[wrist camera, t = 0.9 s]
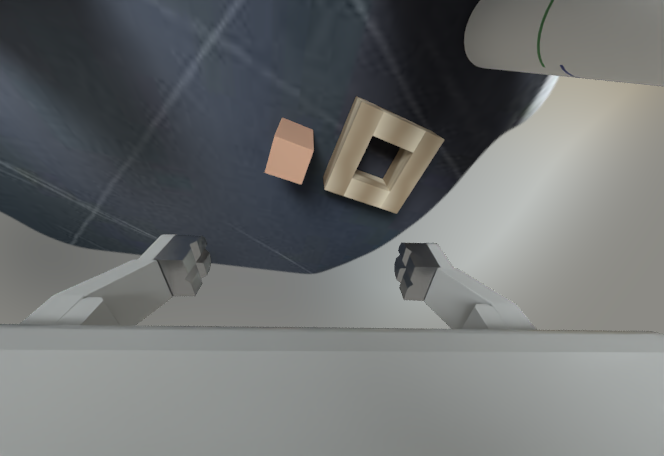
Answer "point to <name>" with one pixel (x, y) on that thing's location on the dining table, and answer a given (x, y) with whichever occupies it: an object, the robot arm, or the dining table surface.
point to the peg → (290, 151)
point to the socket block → (403, 170)
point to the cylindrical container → (570, 38)
